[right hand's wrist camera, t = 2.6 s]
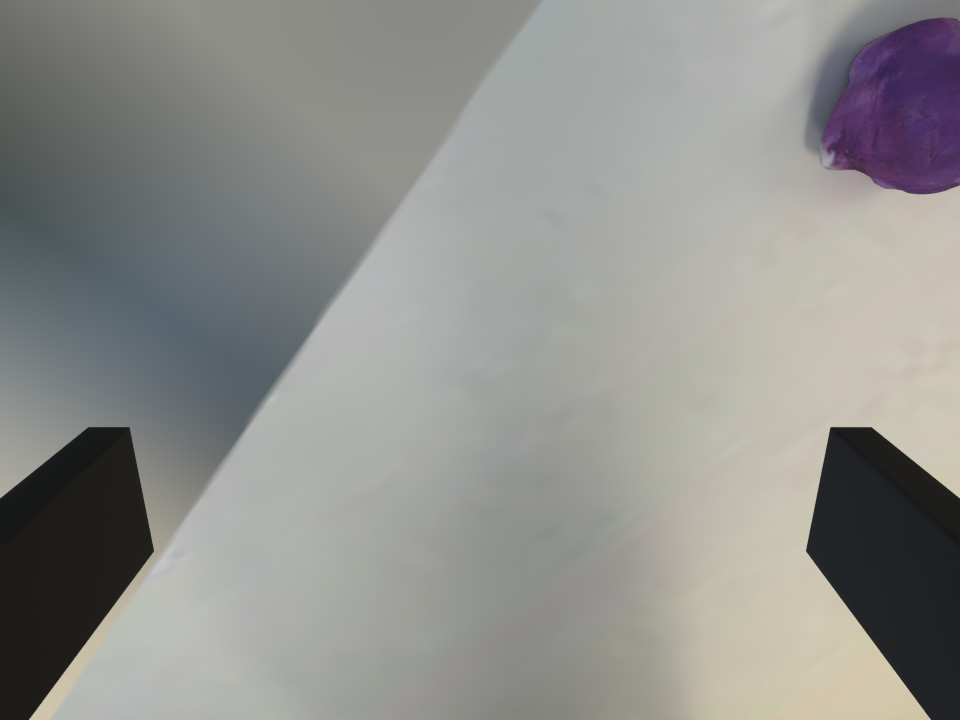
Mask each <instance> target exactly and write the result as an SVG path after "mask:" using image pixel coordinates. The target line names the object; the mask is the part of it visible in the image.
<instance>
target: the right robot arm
mask: <svg viewBox="0 0 960 720" xmlns="http://www.w3.org/2000/svg"><path fill="white" fill-rule="evenodd" d="M153 552H154V549H153V544H152V539H151V534H150V528H149V523H148V518H147V513H146V508H145V503H144V498H143V493H142V488H141V483H140V478H139V473H138V468H137V463H136V458H135V453H134V448H133V443H132V438H131V433H130V428H129V427H88V428H87V429H86V430H85V431H83V432H82V433H81V434H80V435H78V436H77V437H76V438H75V439H73V440H72V441H71V442H70V443H68V444H67V445H66V446H65V447H63V448H62V449H61V450H60V451H59V452H57V453H56V454H55V455H54V456H52V457H51V458H50V459H49V460H47V461H46V462H45V463H44V464H42V465H41V466H40V467H39V468H37V469H36V470H35V471H34V472H33V473H31V474H30V475H29V476H28V477H26V478H25V479H24V480H23V481H21V482H20V483H19V484H18V485H16V486H15V487H14V488H13V489H11V490H10V491H9V492H8V493H6V494H5V495H4V496H3V497H2V498H0V720H29V719H30V718H31V716H32V715H33V714H34V712H35V711H36V710H37V708H38V707H39V705H40V704H41V703H42V701H43V700H44V699H45V697H46V696H47V695H48V693H49V692H50V691H51V689H52V688H53V687H54V685H55V684H56V683H57V681H58V680H59V679H60V677H61V676H62V674H63V673H64V672H65V670H66V669H67V668H68V666H69V665H70V664H71V662H72V661H73V660H74V658H75V657H76V656H77V654H78V653H79V652H80V650H81V649H82V647H83V646H84V645H85V643H86V642H87V641H88V639H89V638H90V637H91V635H92V634H93V633H94V631H95V630H96V629H97V627H98V626H99V625H100V623H101V622H102V621H103V619H104V618H105V616H106V615H107V614H108V612H109V611H110V610H111V608H112V607H113V606H114V604H115V603H116V602H117V600H118V599H119V598H120V596H121V595H122V594H123V592H124V591H125V590H126V588H127V587H128V586H129V584H130V583H131V581H132V580H133V579H134V577H135V576H136V575H137V573H138V572H139V571H140V569H141V568H142V567H143V565H144V564H145V563H146V561H147V560H148V559H149V557H150V556H151V554H152V553H153ZM806 552H807V553H808V554H809V556H810V557H811V559H812V560H813V561H814V563H815V564H816V565H817V567H818V568H819V569H820V571H821V572H822V573H823V575H824V576H825V577H826V579H827V580H828V581H829V583H830V584H831V586H832V587H833V588H834V590H835V591H836V592H837V594H838V595H839V596H840V598H841V599H842V600H843V602H844V603H845V604H846V606H847V607H848V608H849V610H850V611H851V612H852V614H853V615H854V617H855V618H856V619H857V621H858V622H859V623H860V625H861V626H862V627H863V629H864V630H865V631H866V633H867V634H868V635H869V637H870V638H871V639H872V641H873V642H874V643H875V645H876V646H877V648H878V649H879V650H880V652H881V653H882V654H883V656H884V657H885V658H886V660H887V661H888V662H889V664H890V665H891V666H892V668H893V669H894V670H895V672H896V673H897V674H898V676H899V677H900V679H901V680H902V681H903V683H904V684H905V685H906V687H907V688H908V689H909V691H910V692H911V693H912V695H913V696H914V697H915V699H916V700H917V701H918V703H919V704H920V705H921V707H922V708H923V710H924V711H925V712H926V714H927V715H928V716H929V718H930V719H931V720H960V498H959V497H957V496H956V495H955V494H954V493H952V492H951V491H950V490H949V489H947V488H946V487H945V486H944V485H942V484H941V483H940V482H939V481H937V480H936V479H935V478H934V477H932V476H931V475H930V474H929V473H928V472H926V471H925V470H924V469H923V468H921V467H920V466H919V465H918V464H916V463H915V462H914V461H913V460H911V459H910V458H909V457H908V456H906V455H905V454H904V453H903V452H901V451H900V450H899V449H898V448H897V447H895V446H894V445H893V444H892V443H890V442H889V441H888V440H887V439H885V438H884V437H883V436H882V435H880V434H879V433H878V432H877V431H875V430H874V429H873V428H872V427H831V428H830V433H829V438H828V443H827V448H826V453H825V458H824V463H823V468H822V473H821V478H820V483H819V488H818V493H817V498H816V503H815V508H814V513H813V518H812V523H811V528H810V533H809V539H808V544H807V549H806Z"/></svg>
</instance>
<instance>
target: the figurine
mask: <svg viewBox="0 0 960 720" xmlns="http://www.w3.org/2000/svg"><path fill="white" fill-rule="evenodd" d="M819 157H820V163H821V165H822V166H823V167H824V168H825V169H828V170H858V171H860V172H862V173H864V174H866V175H868V176H870V177H871V178H872V180H873V181H874V183H875V184H877V185H879V186H881V187H883V188H885V189H897V190H903V191H905V192H907V193H911V194H932V193H938V192H942V191H946V190H948V189H951V188H954V187H956V186H959V185H960V22H959V21H958V20H956V19H953V18H936V19H928V20H923V21H919V22H916V23H913V24H910V25H907V26H905V27H903V28H900V29H898V30H896V31H894V32H892V33H889V34H887V35H884V36H882V37H879V38H878V39H876V40H874V41H872V42H870V43H869V44H867V45H866V46H865V47H864V48H863V49H862V50H861V51H860V52H859V53H858V54H857V55H856V56H855V58H854V61H853V63H852V66H851V69H850V72H849V82H848V85H847V88H846V90H845V92H844V94H843V95H842V96H841V98H840V99H839V101H838V103H837V104H836V106H835V108H834V110H833V113H832V115H831V117H830V119H829V122H828V124H827V126H826V128H825V131H824V133H823V135H822V138H821V141H820V148H819Z"/></svg>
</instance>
